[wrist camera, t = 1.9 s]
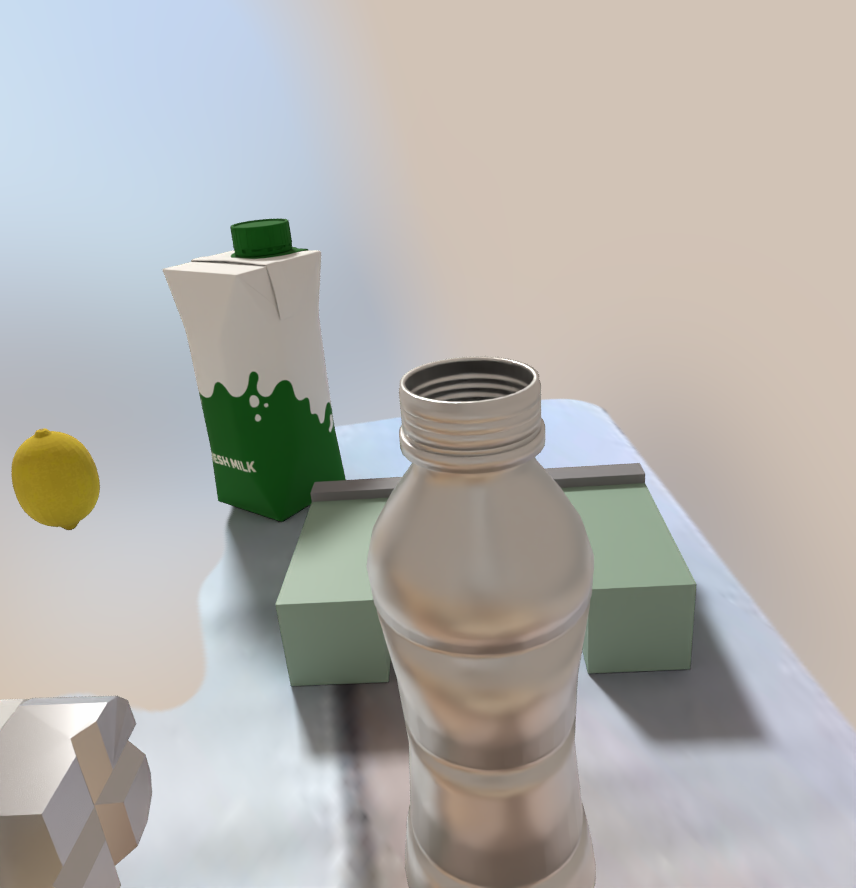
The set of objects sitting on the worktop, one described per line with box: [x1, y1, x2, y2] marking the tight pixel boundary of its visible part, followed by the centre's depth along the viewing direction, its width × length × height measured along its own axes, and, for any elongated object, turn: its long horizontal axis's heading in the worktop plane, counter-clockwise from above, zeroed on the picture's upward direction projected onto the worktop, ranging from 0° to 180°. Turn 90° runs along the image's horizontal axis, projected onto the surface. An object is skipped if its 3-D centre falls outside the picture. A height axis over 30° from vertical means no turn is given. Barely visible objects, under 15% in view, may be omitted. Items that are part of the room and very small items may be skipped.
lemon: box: [12, 429, 100, 530], centre depth 55 cm, size 6×6×8 cm
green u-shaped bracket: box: [275, 463, 696, 686], centre depth 43 cm, size 20×12×6 cm, turn 88°
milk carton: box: [163, 219, 346, 522], centre depth 55 cm, size 9×9×20 cm
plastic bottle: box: [366, 357, 596, 888], centre depth 23 cm, size 6×7×20 cm
